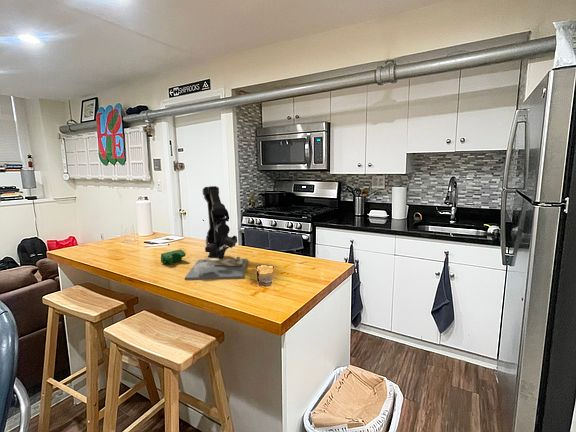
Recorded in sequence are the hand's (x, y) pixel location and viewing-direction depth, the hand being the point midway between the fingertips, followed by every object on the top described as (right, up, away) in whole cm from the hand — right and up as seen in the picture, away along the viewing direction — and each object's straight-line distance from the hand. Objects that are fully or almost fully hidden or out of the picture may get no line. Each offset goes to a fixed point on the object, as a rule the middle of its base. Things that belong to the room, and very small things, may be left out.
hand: (221, 261), depth 161 cm
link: (+2, -1, -3) cm, 3 cm away
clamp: (-26, -2, +5) cm, 27 cm away
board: (0, -3, -6) cm, 7 cm away
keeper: (-5, -4, -15) cm, 16 cm away
